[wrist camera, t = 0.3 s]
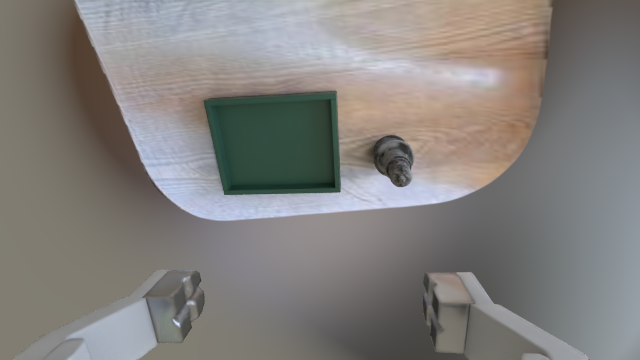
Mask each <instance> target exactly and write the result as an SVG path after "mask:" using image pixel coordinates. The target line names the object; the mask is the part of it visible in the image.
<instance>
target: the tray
mask: <svg viewBox="0 0 640 360" xmlns="http://www.w3.org/2000/svg"><path fill="white" fill-rule="evenodd" d="M204 104H205V108H206V113H207V117H208V122H209V126H210V131H211V136H212V140H213V145H214V149H215V154H216V159H217V163H218V168H219V172H220V177H221V182H222V186H223V190H224V195H243V194H288V193H334V192H340V189H341V182H340V158H339V135H338V111H337V91H327V92H310V93H293V94H275V95H258V96H241V97H223V98H210V99H208V100H205V101H204Z"/></svg>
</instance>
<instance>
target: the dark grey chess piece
mask: <svg viewBox="0 0 640 360" xmlns="http://www.w3.org/2000/svg"><path fill="white" fill-rule="evenodd" d="M413 162H414V153H413V150H412V148H411V147H410V146H409V145H408V144H407V143H406V142H405V141H404V140H403V139H402V138H400V137H398V136H394V135H391V136H386V137H383V138H382V139H380V140H379V141H378V142H377V144H376V146H375V149H374V164H375V167H376V169H377V170H378V171H379V172H380V173H381V174H382V175H385V176H387V177H388V178H390V179H391V182H392V183H393V184H394V185H395V186H397V187H404V186H407V185H408V184H409V183H410V182H411V180H412V172H411V167H412V165H413Z"/></svg>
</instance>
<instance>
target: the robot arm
mask: <svg viewBox="0 0 640 360" xmlns="http://www.w3.org/2000/svg"><path fill="white" fill-rule="evenodd" d="M200 282H201V278H200V273H199V272H197V271H188V270H158V271H155V272H154V273H153V274H152V275H151V276H150V277H148V278H147V279H146V280H145V281H144V282H143V283H142V284H141V285H140V286H139V287H138V288H137V289H136V290H135V291H134V292H133V293H132V294H131V295H129V297H127V298H121V299H119V300H117V301H115V302H113V303H111V304H108V305H106V306H104V307H102V308H100V309H98V310H96V311H93V312H91V313H89V314H87V315H85V316H83V317H81V318H78V319H76V320H74V321H72V322H70V323H68V324H66V325H63V326H61V327H59V328H57V329H55V330H53V331H50V332H48V333H46V334H44V335H42V336H41V337H39V338H38V339H37V340H36V341H34V342H33V343H32V344H31V345H29V346H28V347H27V348H26V349H25V350H24V351H22V352H21V353H20V354H18V355H17V356H16V357H15V358H13V359H12V360H138V359H139V358H141V357H142V356H143V355H145V354H146V353H147V352H148V351H150V350H151V349H152V348H153V347H155V346H156V345H157V344H158V343H182V342H183V341H184V339H185V337H186V336H187V334H188V333H189V331H190V330H191V328H192V326H191V322H193V321H194V320H196V319H197V318H198V317H199V316H200V314H201V312H202V310H203V306H204V291H203V290H202V289H201V288H200V287H199V284H200ZM424 286H425V289H426V291H425V293H424V294H423V302H422V303H423V313H424V317H425V321H426V323H427V325H429V326H430V336H431V339H432V342H433V345H434V347H435V350H436V352H449V353H464V354H465V356H466V357H467V358H468V359H469V360H589V358H588V357H587V356H586V355H585V354H584V353H582V352H580V351H578V350H576V349H575V348H573V347H571V346H570V345H568V344H566V343H564V342H562V341H561V340H559V339H558V338H556V337H554V336H552V335H551V334H549V333H547V332H545V331H544V330H542V329H540V328H539V327H537V326H535V325H533V324H532V323H530V322H528V321H526V320H525V319H523V318H521V317H520V316H518V315H516V314H514V313H513V312H511V311H509V310H507V309H506V308H504V307H502V306H500V305H495V304H493V302H492V301H491V299H490V298H489V296H488V295H487V293H486V292H485V291H484V289H483V288H482V286H481V285H480V283H479V282H478V280H477V279H476V277H475V276H474V275H473V273H471V272H459V273H425V275H424Z"/></svg>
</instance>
